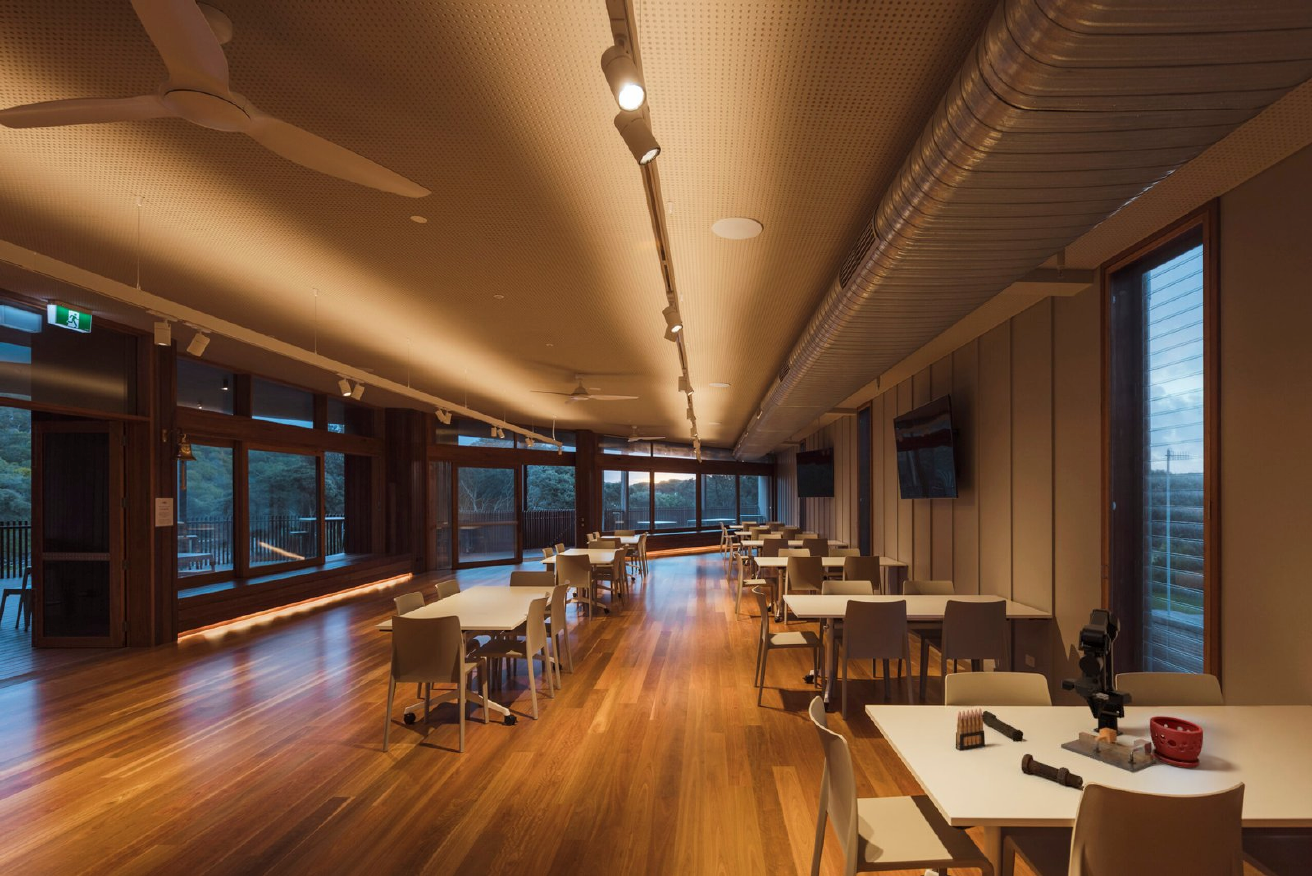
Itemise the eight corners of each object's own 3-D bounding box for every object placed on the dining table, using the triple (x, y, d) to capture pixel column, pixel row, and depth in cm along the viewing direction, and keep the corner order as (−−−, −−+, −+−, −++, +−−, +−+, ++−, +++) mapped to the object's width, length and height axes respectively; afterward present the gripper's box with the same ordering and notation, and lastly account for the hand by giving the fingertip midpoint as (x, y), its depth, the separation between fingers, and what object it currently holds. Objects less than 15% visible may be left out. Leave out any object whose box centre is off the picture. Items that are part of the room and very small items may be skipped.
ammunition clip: (980, 744, 220) (980, 707, 221) (985, 746, 218) (984, 708, 219) (955, 748, 216) (955, 710, 217) (960, 750, 214) (959, 712, 215)
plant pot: (1141, 757, 212) (1140, 718, 212) (1167, 751, 217) (1165, 713, 218) (1187, 774, 200) (1186, 733, 200) (1213, 767, 205) (1212, 727, 206)
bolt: (1080, 797, 188) (1023, 776, 199) (1086, 783, 190) (1029, 764, 202) (1076, 781, 186) (1019, 761, 198) (1082, 768, 189) (1025, 749, 200)
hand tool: (1024, 742, 223) (1023, 728, 223) (1012, 742, 223) (1012, 728, 223) (990, 722, 242) (990, 709, 242) (979, 722, 242) (979, 709, 242)
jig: (1085, 740, 225) (1084, 721, 226) (1156, 763, 207) (1155, 743, 207) (1061, 747, 218) (1060, 728, 219) (1132, 772, 200) (1131, 751, 201)
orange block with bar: (1106, 743, 219) (1106, 727, 219) (1116, 746, 216) (1116, 730, 217) (1091, 748, 215) (1091, 732, 215) (1101, 751, 212) (1101, 735, 212)
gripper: (1051, 664, 220) (1052, 713, 219) (1112, 679, 203) (1113, 732, 202) (1070, 660, 225) (1071, 708, 224) (1132, 675, 209) (1133, 726, 208)
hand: (1096, 718), depth 214 cm, fingers closed
